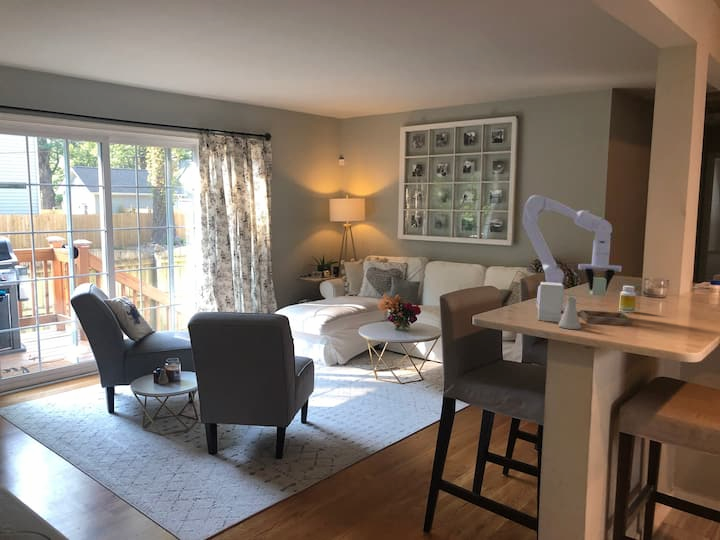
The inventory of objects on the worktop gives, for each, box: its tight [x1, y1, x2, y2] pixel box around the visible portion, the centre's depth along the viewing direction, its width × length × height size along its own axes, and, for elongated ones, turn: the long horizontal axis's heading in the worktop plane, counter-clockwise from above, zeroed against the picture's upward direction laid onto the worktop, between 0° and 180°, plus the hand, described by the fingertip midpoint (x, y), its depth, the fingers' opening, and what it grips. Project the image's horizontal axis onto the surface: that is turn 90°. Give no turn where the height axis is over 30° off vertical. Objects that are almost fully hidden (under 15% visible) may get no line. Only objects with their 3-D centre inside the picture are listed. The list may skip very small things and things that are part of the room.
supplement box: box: [537, 281, 564, 323], centre depth 196 cm, size 7×7×13 cm
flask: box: [558, 296, 582, 330], centre depth 185 cm, size 7×7×10 cm
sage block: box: [589, 276, 607, 297], centre depth 209 cm, size 4×4×6 cm
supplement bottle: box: [618, 285, 637, 313], centre depth 216 cm, size 5×5×10 cm
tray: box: [579, 309, 632, 327], centre depth 197 cm, size 14×12×2 cm
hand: (597, 289), depth 209 cm, fingers closed on sage block, 4 cm apart
